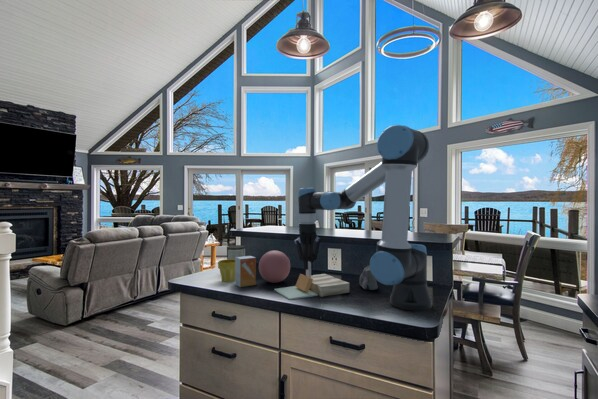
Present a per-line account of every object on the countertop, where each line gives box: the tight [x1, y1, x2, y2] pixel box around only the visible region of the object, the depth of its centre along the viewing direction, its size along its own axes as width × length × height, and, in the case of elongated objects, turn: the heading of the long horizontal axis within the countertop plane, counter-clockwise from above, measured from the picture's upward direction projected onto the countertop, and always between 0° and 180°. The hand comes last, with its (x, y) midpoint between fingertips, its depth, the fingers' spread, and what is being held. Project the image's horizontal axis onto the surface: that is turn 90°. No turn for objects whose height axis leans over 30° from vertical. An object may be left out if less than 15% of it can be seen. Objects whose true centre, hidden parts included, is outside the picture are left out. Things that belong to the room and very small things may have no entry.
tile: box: [294, 273, 313, 293], centre depth 140 cm, size 9×6×2 cm
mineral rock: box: [358, 265, 378, 291], centre depth 148 cm, size 13×11×10 cm
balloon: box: [258, 249, 291, 284], centre depth 158 cm, size 15×20×15 cm
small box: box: [234, 255, 257, 288], centre depth 152 cm, size 8×6×13 cm
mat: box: [273, 285, 319, 301], centre depth 138 cm, size 16×13×1 cm
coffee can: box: [226, 244, 246, 259], centre depth 181 cm, size 10×10×14 cm
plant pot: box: [217, 258, 235, 283], centre depth 160 cm, size 10×10×10 cm
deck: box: [309, 273, 350, 298], centre depth 144 cm, size 20×14×4 cm
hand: (308, 276), depth 141 cm, fingers closed
